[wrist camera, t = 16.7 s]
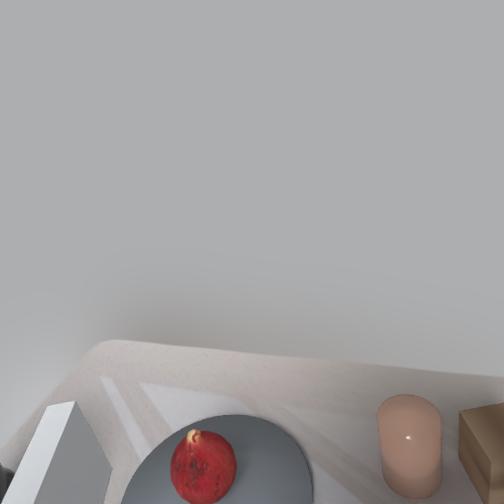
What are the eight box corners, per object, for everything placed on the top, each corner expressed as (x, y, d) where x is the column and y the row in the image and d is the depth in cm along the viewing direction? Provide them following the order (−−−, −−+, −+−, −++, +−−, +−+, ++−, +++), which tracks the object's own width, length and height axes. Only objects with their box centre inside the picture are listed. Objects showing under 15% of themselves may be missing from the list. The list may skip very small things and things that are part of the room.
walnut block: (513, 447, 40) (518, 399, 38) (549, 499, 36) (558, 449, 33) (458, 458, 41) (459, 411, 38) (488, 511, 36) (491, 462, 33)
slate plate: (296, 407, 49) (294, 400, 49) (333, 590, 33) (331, 583, 33) (137, 438, 50) (135, 432, 49) (99, 633, 34) (95, 627, 33)
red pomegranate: (238, 526, 38) (216, 464, 34) (175, 524, 39) (147, 464, 36) (248, 465, 43) (230, 405, 39) (192, 465, 44) (169, 407, 41)
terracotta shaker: (427, 443, 42) (425, 389, 39) (452, 492, 38) (452, 436, 35) (375, 454, 43) (369, 401, 39) (393, 504, 38) (389, 448, 35)
